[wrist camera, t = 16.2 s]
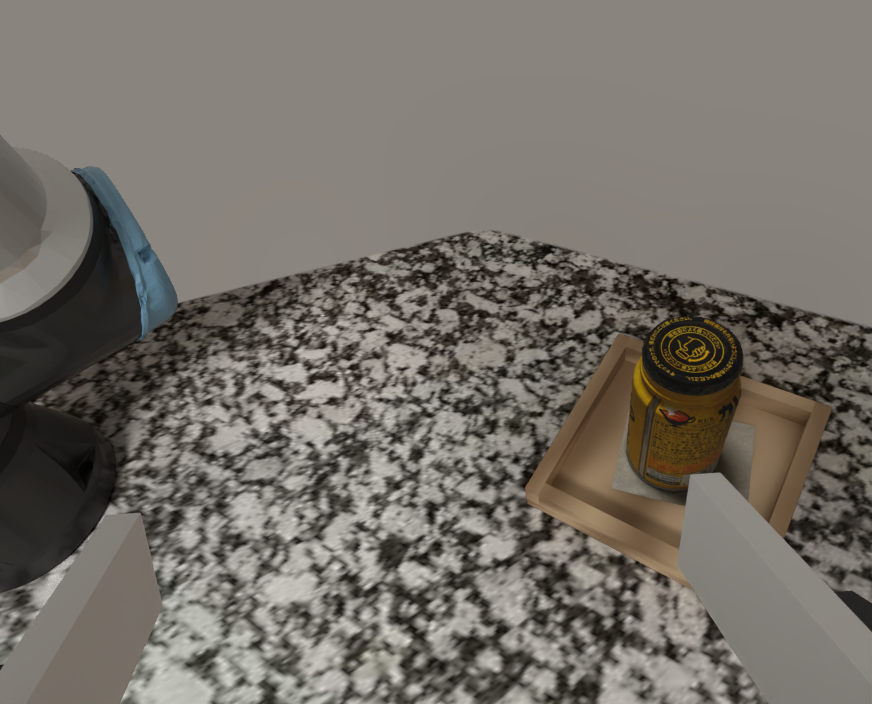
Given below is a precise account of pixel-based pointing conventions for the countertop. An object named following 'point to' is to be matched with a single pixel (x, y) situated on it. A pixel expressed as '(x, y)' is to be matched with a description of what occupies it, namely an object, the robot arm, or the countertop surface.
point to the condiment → (685, 412)
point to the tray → (649, 518)
